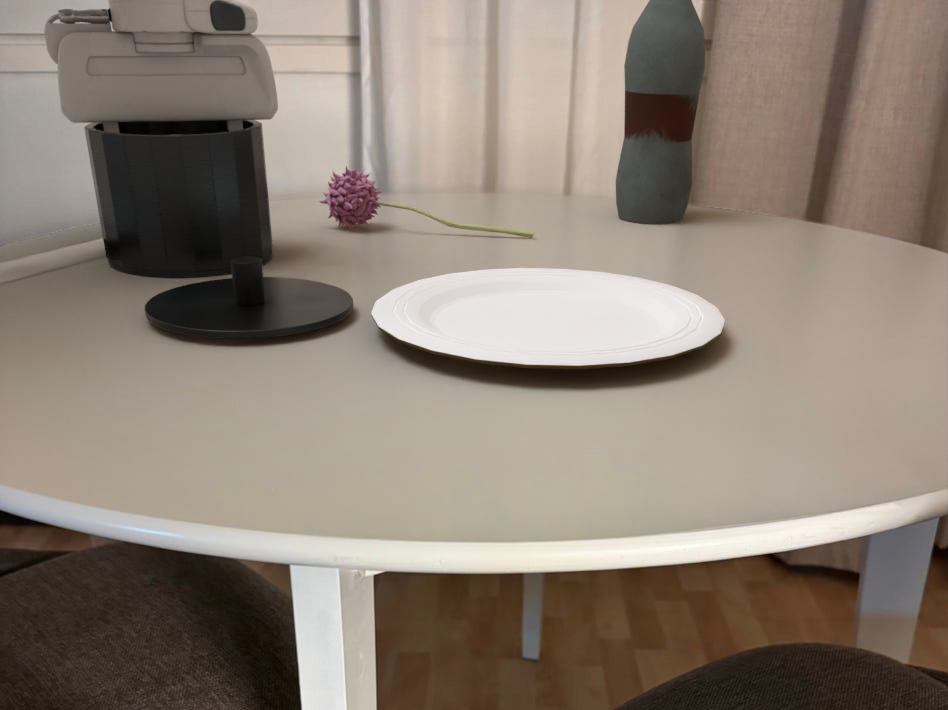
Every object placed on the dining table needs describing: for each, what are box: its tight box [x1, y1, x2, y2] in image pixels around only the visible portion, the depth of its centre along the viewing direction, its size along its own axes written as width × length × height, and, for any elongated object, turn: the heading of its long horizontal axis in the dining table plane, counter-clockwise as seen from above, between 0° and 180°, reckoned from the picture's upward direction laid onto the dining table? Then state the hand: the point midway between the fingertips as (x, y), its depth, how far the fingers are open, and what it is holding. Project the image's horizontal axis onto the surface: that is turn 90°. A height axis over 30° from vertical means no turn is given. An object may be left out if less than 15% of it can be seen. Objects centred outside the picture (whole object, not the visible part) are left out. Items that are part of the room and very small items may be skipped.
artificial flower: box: [318, 165, 535, 239], centre depth 121 cm, size 7×7×25 cm
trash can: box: [83, 120, 274, 278], centre depth 107 cm, size 17×17×12 cm
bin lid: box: [144, 256, 354, 340], centre depth 91 cm, size 18×18×5 cm
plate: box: [370, 267, 726, 371], centre depth 89 cm, size 29×29×2 cm
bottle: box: [615, 0, 706, 225], centre depth 123 cm, size 9×9×30 cm
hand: (179, 171), depth 105 cm, fingers open, 8 cm apart
